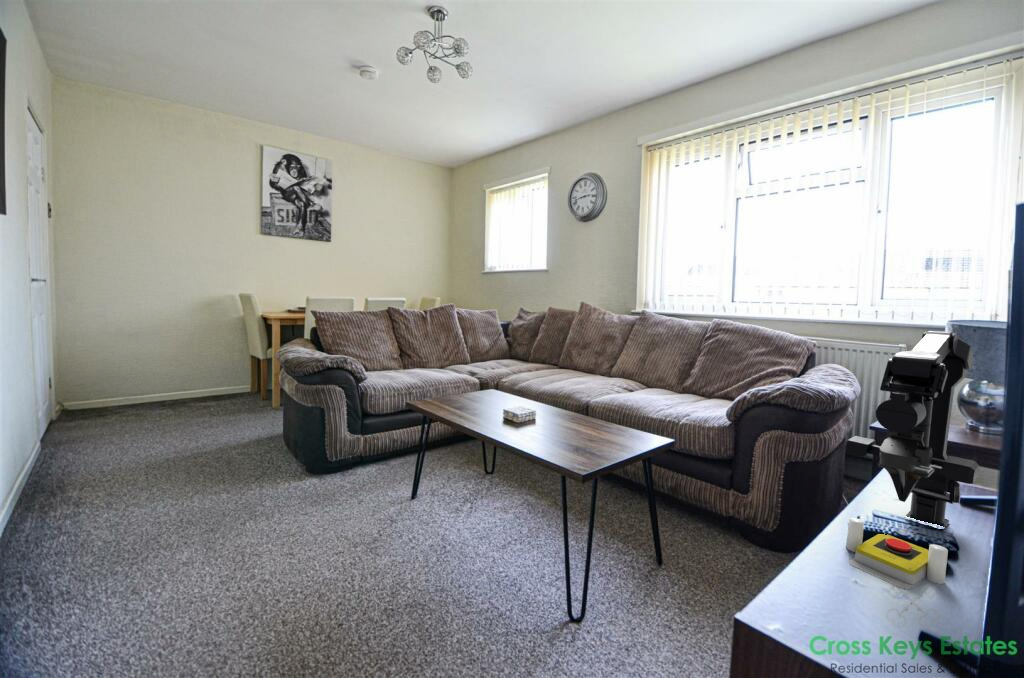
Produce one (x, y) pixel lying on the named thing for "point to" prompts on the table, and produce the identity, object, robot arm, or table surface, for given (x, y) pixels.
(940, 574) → the post
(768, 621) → the table surface
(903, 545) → the emergency button
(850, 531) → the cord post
